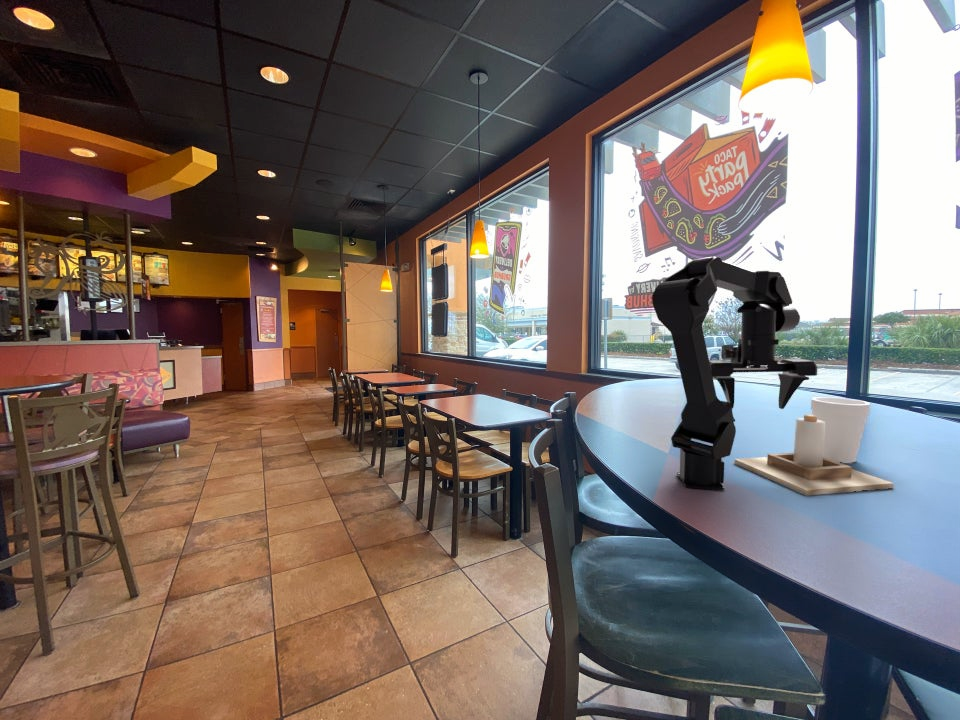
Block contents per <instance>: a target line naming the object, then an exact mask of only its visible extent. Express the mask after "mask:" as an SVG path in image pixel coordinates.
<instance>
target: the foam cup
mask: <svg viewBox="0 0 960 720" xmlns="http://www.w3.org/2000/svg"><path fill="white" fill-rule="evenodd" d="M810 400H811V401H810V409H811V412H812V414H811V415H814V416H817V420H821V421H824V422H825V435H824V451H823V458H826V459H829V460H832V461H835V462H838V463H840V462H842V463H841V464H852V463H851V462H855V463H856V462H857V461H856V460H857V458H858V455H859V450H860V446H861V443H862V440H863V439H862V438H863V434H864V430H865V427H866V423H867V419H868V416H869V415H870V409H871V408H870V407H871V403H870V402H867V401H865V400H861V399H854V398H845V397H835V396H834V397H832V396H815V397H812V398H811V399H810Z"/></svg>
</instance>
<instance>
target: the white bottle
mask: <svg viewBox="0 0 960 720" xmlns="http://www.w3.org/2000/svg"><path fill="white" fill-rule="evenodd" d="M794 429H795V430H794V444H793V445H794V446H793V447H794V448H793V452H794V460H793V462H795V463H798V464H801V465H803V466H806V467H809V468H813V467H822V466H823V451H824V435H825V422H824V421H821V420H817V416H814V415H813V414H804V415H803V418H802V417H798V418H795V427H794Z"/></svg>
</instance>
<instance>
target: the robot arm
mask: <svg viewBox="0 0 960 720" xmlns="http://www.w3.org/2000/svg"><path fill="white" fill-rule="evenodd" d="M782 275H783V274H782V273H780V272H779V271H777V270H750V269H747V268H744V267H741V266H738V265H737V264H736V265H735V264H733V263H730V262H727V261H724V260H722V258H720V257H719V256H718V257H717V256H707V257H702V258H697V259H692V260H691V261H689V262H688V263H687V264H686V265H685V266H684V267H683V268H682V269H680V270H678V271H676V272H675V273H673V274H672V275H669V276H668V277H667V278H665V279H664V280H663V281H662V282H660V283H658V285H656V288H655V289H654V291H653V292H652V295H651V302H652V307H653V309H654V312H655V313H656V316H657V319H658V321H659V322H660V323H661V324H662V325H663V326H664V327H665V328H666V330H668V331H669V332H670V334H671V339H672V343H673V348H674V351H675V357H676V360H677V364H678V369H679V372H680V378H681V383H682V386H683V391H684V394H685V398H686V400H685V401H686V403H685V405H684V408H683V409H682V411H681V413H680V419H681V421H680V423H679V424H678V426H677V428H676V429H675V431H674V433H673V434H672V436H671V438H670V439H671V440H670V441H671V445H672V447H673V448H676V449H677V448H678V449H680V451H679V453H680V454H679V455H680V456H679V472H676V475H677V474H678V473H680V474H678V476H679V477H680V479H681V480H682V481H681V480H680V479H679V480H680V481H681V482H683V483H684V484H685V485H684V484H683V483H682V484H683V485H684V487H685V486H687V487H686V488H688V487H691V488H690V489H700V490H701V489H703V490H714V491H715V490H716V491H724V490H725V486H724V485H723V484H724V483H725V482H724V481H725V461H723V460H722V459H723V458H726V457H730V456H731V453H732V449H733V445H734V441H735V437H736V433H737V431H736V430H737V429H736V425H735V422H736V419H735V417H734V414H733V409H734V407H735V389H736V388H735V384H736V383H735V382H736V379H735V377H734V376H733V377H732V374H733V373H777V375H778V379H779V390H778V408H779V409H780V410H784V409H785V407H786V406H787V404H788V403H789V401H790V400H791V399H792V397H793V395H794V393H796V391H797V390H798V389H799V387H800V386H801V385H802V383H803V382H804V381H808V380H810V377H812V376H813V377H814V376H818V366H817V363H816V362H815V361H814V360H808V359H804V358H803V359H802V358H783V359H781V360H780V362H779V361H778V360H777V359H775V358H776V357H775V356H776V354H775V353H776V346H778V345H779V339H776V333H782V332H788V331H792V330H794V329H795V328H796V327H797V326H798V325H799V323H800V320H801V315H800V313H799V311H798V310H797V309H796V308H795V307H794V306H792V304H793V299H792V297H791V294H790V291H789V287H788V286H787V282H786V280H785V277H784V276H782ZM718 288H720V289H724V290H726V291H730V292H732V293H733V294H732V296H733V298H735V299H737V300H739V301H740V302H741V303H742V305H740V306H739V307H738V308H737V310H736V313H738V314H741V330H740V331H741V332H740V338H739V339H738V344H737V346H734V345H733V344H723V345H721V354H720V355H721V359H720V360H719V359H717V360H715V359H714V360H710V358H709V354H708V348H707V344H706V338H705V334H704V329H703V323H704V321H705V319H706V317H707V315H708V313H709V311H710V304H709V301H710V299H711V298H712V297H713V296H714V294H715V293H716V292H717V291H718ZM809 376H810V377H809ZM714 379H715V380H716V381H717V382H718V384H719V386H720V387H721V390H722V391H723V394H724V396H725V400H726V401H725V400H720V399H719V398H718V396H717V392H716V387H715V382H714ZM699 441H700V442H699ZM705 443H707V444H705ZM710 444H711V445H710ZM678 476H677V477H678ZM679 477H678V478H679Z"/></svg>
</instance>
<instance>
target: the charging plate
mask: <svg viewBox="0 0 960 720" xmlns="http://www.w3.org/2000/svg"><path fill="white" fill-rule="evenodd" d="M793 460H794V451H793V452H782V453H781V452H780V453H767V456H762V457H759V456H758V457H745V458H744V457H743V458H734V465H737V466H738V467H742V468H744V469H746V470H748V471H751V472H753V473H755V474H757V475H759V476H761V477H764V478H765V479H768V480H771V481H772V482H775V483H777V484H780V485H782V486H784V487H786V488H789V489H790V490H793V491H795V492H798V493H800V494H802V495H804V496H816V495H817V496H818V495H829V494H841V493H842V494H844V493H852V492H853V493H854V491H856V492H863V491H862V490H868V491H876V490H875V489H880V490H889V489H888V488H892V489H894V486H895V485H894V482H893V481H892V482H891V481H889V480H886V479H884V478H883V479H882V478H879V477H877V476H874V475H871V474H868V473H864V472H862V471H858V470H855V469H853V468H852V467H853V466H850V465H847V464H845V463H840V462H835V461H832V460H829V459H826V458H823V466H822V467H813V468H809V467H806V466H803V465H801V464H798V463H795V462H793Z"/></svg>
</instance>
